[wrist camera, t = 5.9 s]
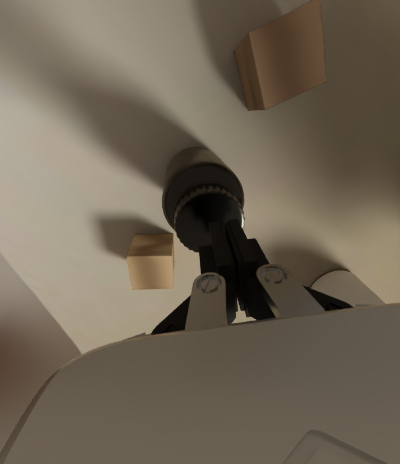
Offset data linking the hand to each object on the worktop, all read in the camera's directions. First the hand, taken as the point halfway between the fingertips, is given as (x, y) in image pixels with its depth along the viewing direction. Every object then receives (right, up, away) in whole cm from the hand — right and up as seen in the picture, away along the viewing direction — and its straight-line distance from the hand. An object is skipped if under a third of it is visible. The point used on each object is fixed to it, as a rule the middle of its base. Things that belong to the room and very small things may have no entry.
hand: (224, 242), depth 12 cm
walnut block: (+5, +16, +8) cm, 18 cm away
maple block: (-8, -2, +16) cm, 18 cm away
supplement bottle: (-2, +7, +12) cm, 14 cm away
